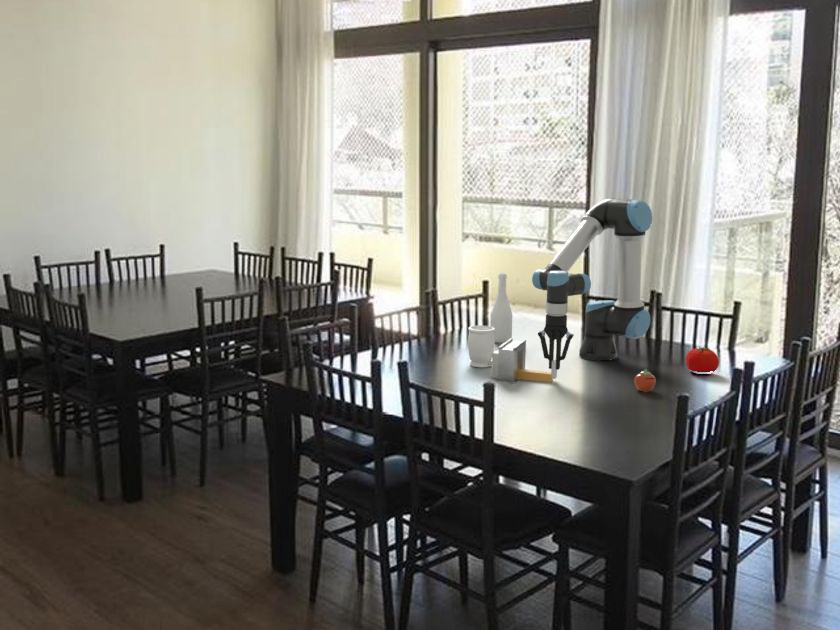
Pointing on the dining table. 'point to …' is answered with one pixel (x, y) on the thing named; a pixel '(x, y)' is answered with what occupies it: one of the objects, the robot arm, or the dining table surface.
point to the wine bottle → (501, 313)
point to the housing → (511, 360)
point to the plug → (521, 371)
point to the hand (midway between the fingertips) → (553, 377)
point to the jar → (481, 345)
